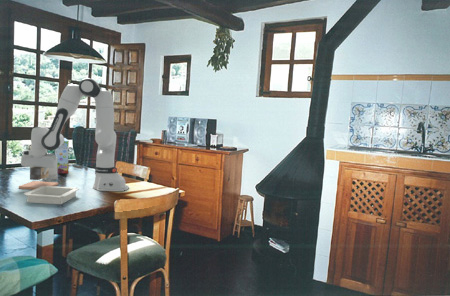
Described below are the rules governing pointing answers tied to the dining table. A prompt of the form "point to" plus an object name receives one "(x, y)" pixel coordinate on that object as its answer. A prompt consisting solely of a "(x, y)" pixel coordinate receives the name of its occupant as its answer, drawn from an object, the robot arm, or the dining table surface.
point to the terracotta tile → (37, 184)
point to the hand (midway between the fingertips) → (38, 174)
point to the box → (38, 173)
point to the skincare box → (52, 172)
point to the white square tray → (51, 194)
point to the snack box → (62, 157)
